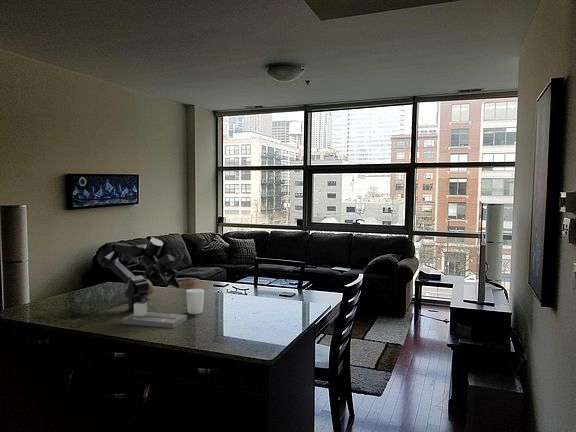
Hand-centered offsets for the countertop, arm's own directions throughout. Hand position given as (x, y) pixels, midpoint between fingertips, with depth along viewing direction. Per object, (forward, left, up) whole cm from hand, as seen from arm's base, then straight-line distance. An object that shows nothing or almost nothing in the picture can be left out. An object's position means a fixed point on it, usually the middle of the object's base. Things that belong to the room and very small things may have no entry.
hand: (173, 286), depth 187 cm
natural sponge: (-31, +28, -14) cm, 44 cm away
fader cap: (-11, -7, -12) cm, 18 cm away
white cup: (+5, +11, -14) cm, 19 cm away
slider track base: (-4, -7, -14) cm, 16 cm away
